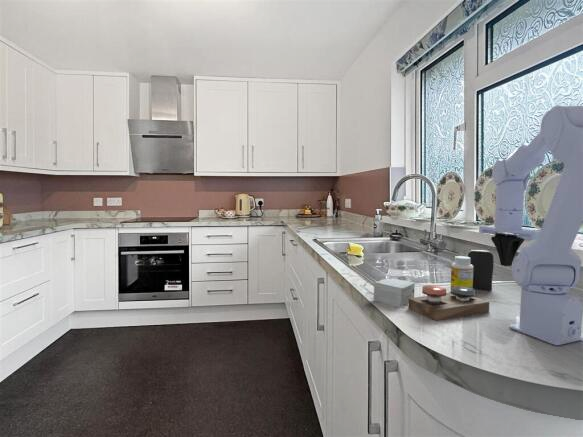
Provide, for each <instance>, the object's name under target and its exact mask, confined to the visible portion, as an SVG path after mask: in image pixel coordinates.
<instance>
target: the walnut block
mask: <svg viewBox="0 0 583 437" xmlns="http://www.w3.org/2000/svg"><path fill="white" fill-rule="evenodd" d="M407 305H408V307H407V308H408V309H409V310H410V311H413V312H416V313H418V314H420V315H422V316H424V317H427V318H429V319H431V320H433V321H435V322H438V321H446V320H450V319H457V318H461V317H462V318H463V317H468V316H474V315H480V314H482V315H483V314H487V313H490V301H488V300H484V299H482V298H478V297H475V296H474V297H470V299H469V301H465V302H463V301H460V300H457V299H456V295H453V294H451V292H446V296H442V297H441V305H437V306H432V305H430V304H427V295H424V296H418V297H415V296H414V298H409V303H408V304H407Z"/></svg>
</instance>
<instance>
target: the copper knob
mask: <svg viewBox="0 0 583 437" xmlns="http://www.w3.org/2000/svg"><path fill="white" fill-rule="evenodd" d="M421 289H422V290H421V292H422V294H423V295H424V296H427V304H430V305H432V306H437V305H441V297H442V296H446V293H447V289H446V288H445V287H443V286H440V285H433V284H432V285H430V284H429V285H423V286H422V287H421Z"/></svg>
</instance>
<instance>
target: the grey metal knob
mask: <svg viewBox="0 0 583 437" xmlns="http://www.w3.org/2000/svg"><path fill="white" fill-rule="evenodd" d="M450 293H451V294H453V295H456V299H457V300H460V301H463V302H465V301H469V299H470V297H475V296H476V289H472V288H468V287H461V286H455V287H451V286H450Z"/></svg>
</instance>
